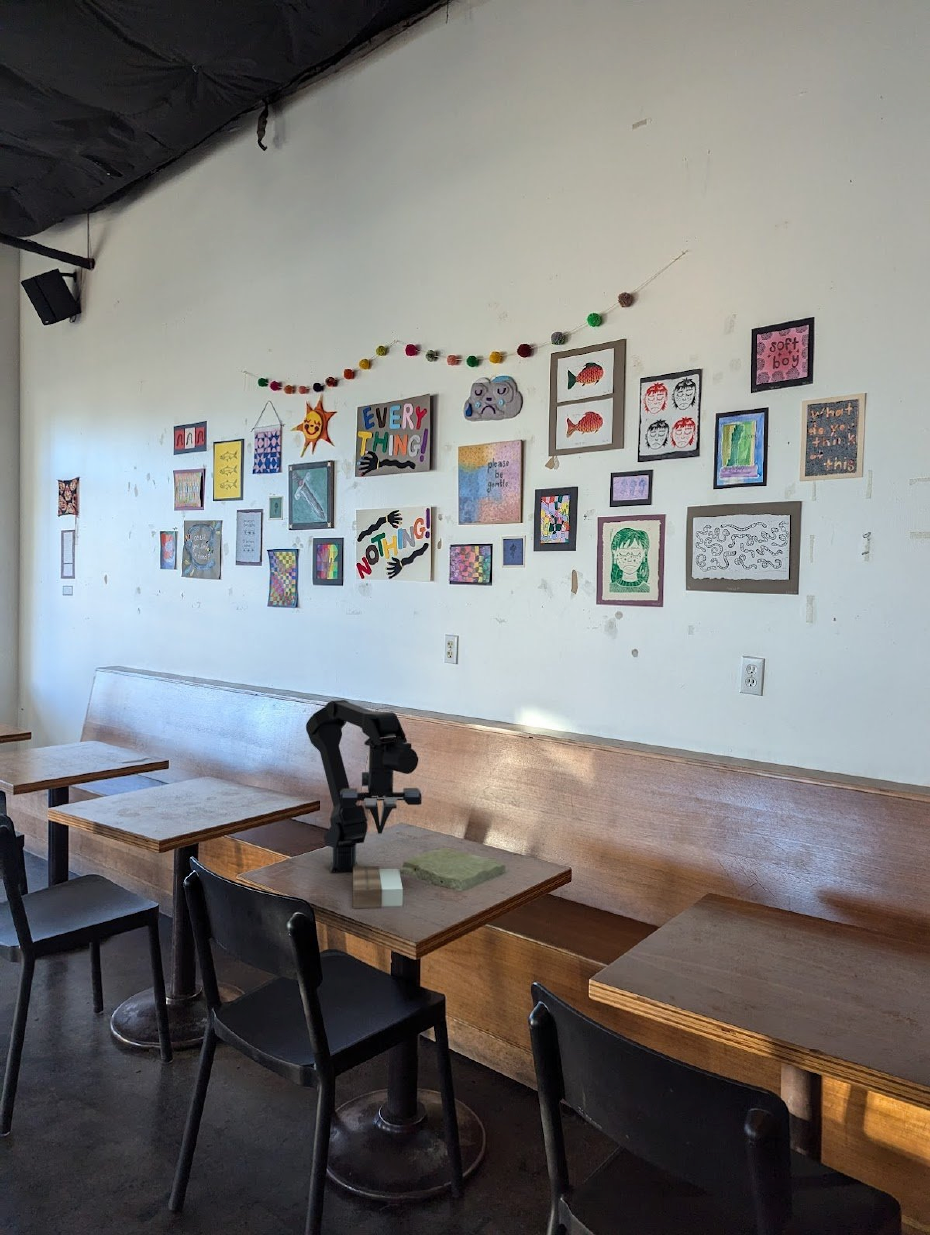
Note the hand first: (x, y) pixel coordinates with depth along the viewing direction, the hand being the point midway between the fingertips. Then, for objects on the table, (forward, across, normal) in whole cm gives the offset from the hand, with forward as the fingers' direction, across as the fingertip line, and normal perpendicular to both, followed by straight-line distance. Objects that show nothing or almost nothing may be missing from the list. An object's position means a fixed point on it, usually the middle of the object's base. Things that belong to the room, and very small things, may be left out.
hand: (379, 833), depth 200 cm
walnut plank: (+12, +3, +7) cm, 14 cm away
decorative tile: (+13, -18, -7) cm, 23 cm away
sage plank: (+12, -2, +7) cm, 14 cm away
